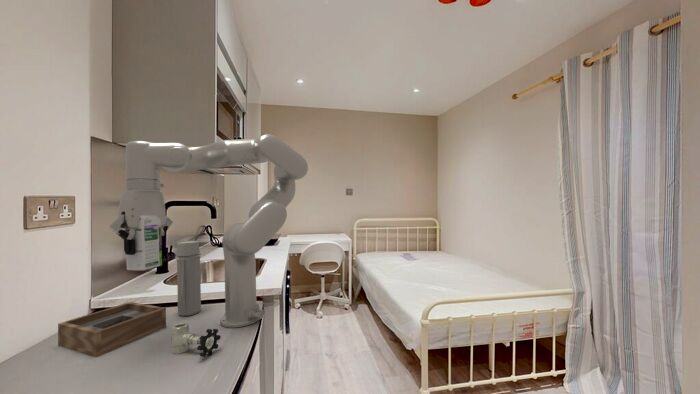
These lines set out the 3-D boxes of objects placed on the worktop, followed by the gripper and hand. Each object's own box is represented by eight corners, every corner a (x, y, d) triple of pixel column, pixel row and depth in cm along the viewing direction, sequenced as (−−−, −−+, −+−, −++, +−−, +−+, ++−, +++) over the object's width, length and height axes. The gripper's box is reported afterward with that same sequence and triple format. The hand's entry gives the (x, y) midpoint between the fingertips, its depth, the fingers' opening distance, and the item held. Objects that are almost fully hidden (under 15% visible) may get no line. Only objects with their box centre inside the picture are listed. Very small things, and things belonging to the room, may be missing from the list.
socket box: (166, 327, 87) (165, 307, 87) (95, 357, 71) (95, 333, 71) (130, 319, 94) (129, 301, 94) (58, 345, 77) (58, 323, 78)
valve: (163, 356, 70) (200, 363, 67) (162, 329, 70) (200, 335, 67) (185, 343, 77) (221, 349, 73) (185, 319, 77) (220, 323, 73)
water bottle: (182, 309, 102) (181, 241, 102) (205, 308, 103) (204, 240, 103) (169, 320, 93) (168, 244, 93) (194, 318, 94) (193, 243, 94)
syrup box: (144, 270, 73) (143, 215, 73) (125, 270, 74) (124, 215, 74) (162, 265, 78) (161, 214, 79) (144, 265, 80) (144, 214, 80)
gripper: (164, 188, 86) (165, 246, 86) (97, 186, 70) (98, 257, 70) (182, 187, 83) (183, 247, 83) (116, 184, 67) (116, 258, 67)
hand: (144, 251), depth 76 cm, fingers closed on syrup box, 6 cm apart
